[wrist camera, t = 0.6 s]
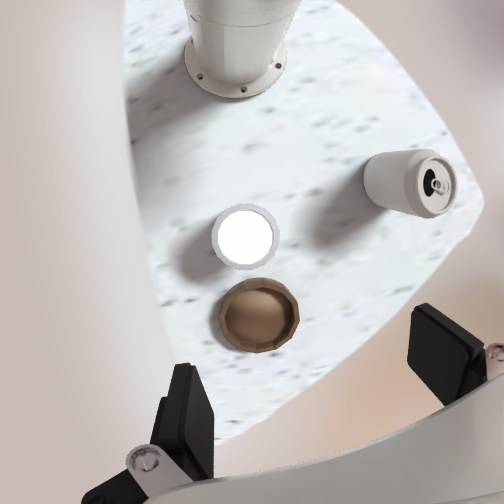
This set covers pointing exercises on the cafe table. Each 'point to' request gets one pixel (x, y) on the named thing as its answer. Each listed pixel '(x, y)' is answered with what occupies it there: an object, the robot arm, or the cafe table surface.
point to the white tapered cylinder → (245, 236)
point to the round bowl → (259, 315)
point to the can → (411, 182)
